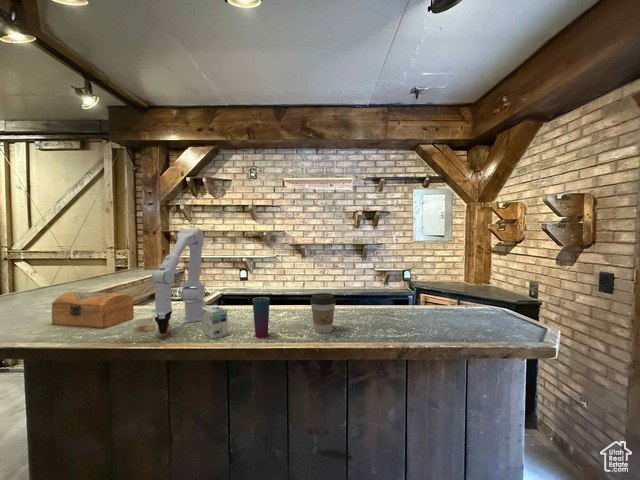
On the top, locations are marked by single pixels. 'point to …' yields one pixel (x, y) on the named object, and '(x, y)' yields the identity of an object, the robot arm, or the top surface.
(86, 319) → the wooden box
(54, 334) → the top surface
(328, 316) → the coffee cup
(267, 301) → the cup
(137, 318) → the tower top
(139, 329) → the tower base
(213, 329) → the light bulb box
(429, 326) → the top surface
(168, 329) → the cylinder
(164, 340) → the top surface
